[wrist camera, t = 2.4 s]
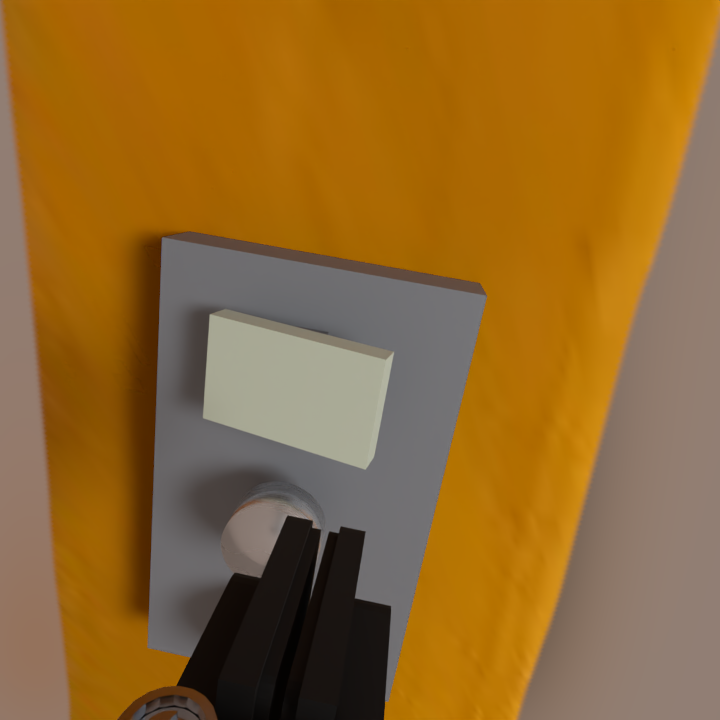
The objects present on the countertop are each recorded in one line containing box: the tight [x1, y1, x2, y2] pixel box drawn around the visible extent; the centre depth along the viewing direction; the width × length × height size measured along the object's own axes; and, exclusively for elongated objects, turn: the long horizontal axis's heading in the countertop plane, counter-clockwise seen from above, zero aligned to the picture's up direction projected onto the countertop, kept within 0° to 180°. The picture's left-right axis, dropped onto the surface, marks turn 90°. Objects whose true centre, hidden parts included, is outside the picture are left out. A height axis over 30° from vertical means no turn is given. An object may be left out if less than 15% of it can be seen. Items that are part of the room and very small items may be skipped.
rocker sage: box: [203, 309, 394, 470], centre depth 19 cm, size 4×6×1 cm, turn 81°
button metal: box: [221, 481, 326, 578], centre depth 20 cm, size 4×4×2 cm
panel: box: [148, 232, 487, 701], centre depth 23 cm, size 20×12×4 cm, turn 171°
